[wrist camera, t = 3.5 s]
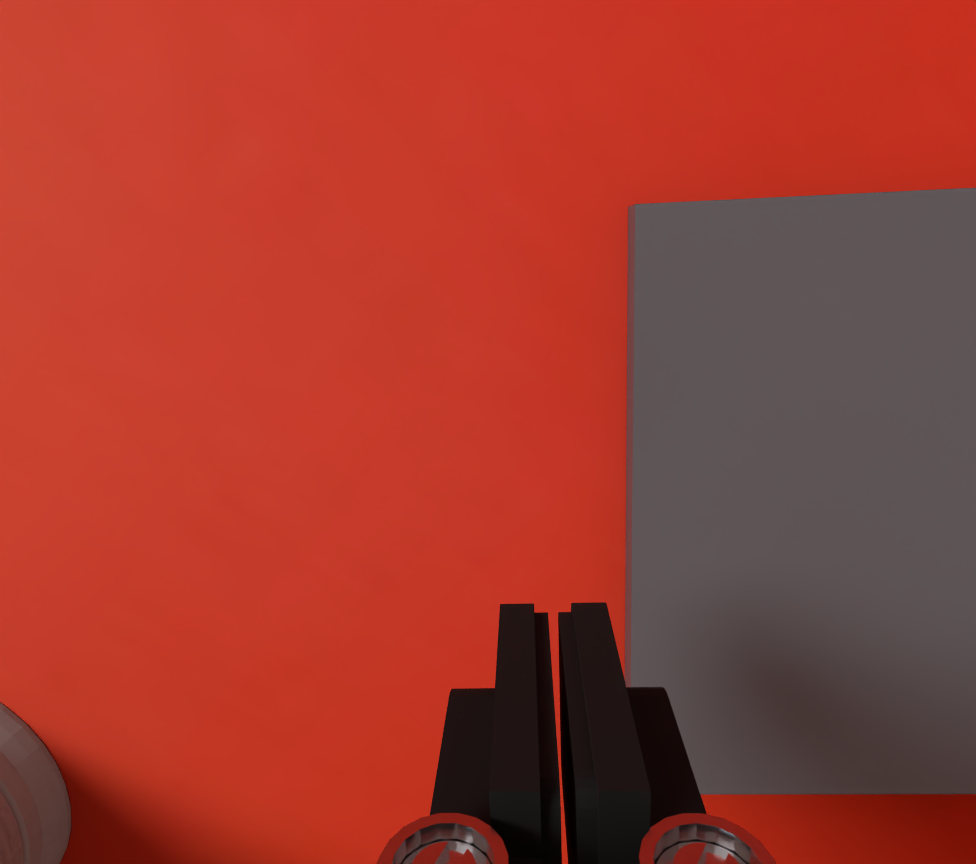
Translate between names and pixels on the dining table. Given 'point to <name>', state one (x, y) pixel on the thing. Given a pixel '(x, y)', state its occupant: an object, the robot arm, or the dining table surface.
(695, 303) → the base
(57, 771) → the glass holder
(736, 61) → the dining table surface
